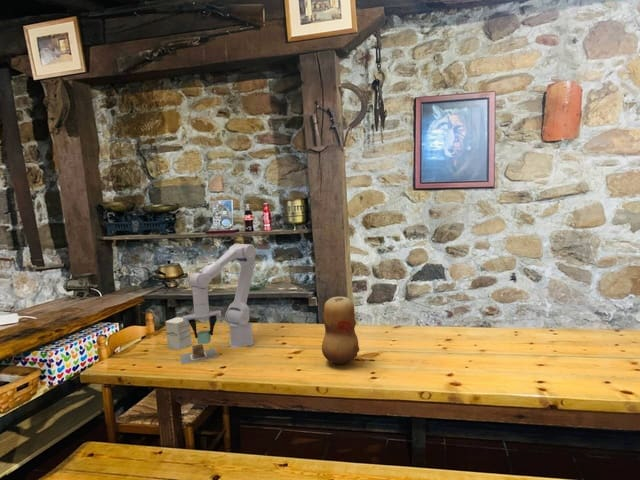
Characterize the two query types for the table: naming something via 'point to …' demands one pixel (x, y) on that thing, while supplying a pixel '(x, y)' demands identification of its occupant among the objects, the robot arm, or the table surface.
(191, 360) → the slate board
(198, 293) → the robot arm
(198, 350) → the walnut block
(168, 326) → the supplement box
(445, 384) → the table surface
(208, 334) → the teal block
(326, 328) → the butternut squash
